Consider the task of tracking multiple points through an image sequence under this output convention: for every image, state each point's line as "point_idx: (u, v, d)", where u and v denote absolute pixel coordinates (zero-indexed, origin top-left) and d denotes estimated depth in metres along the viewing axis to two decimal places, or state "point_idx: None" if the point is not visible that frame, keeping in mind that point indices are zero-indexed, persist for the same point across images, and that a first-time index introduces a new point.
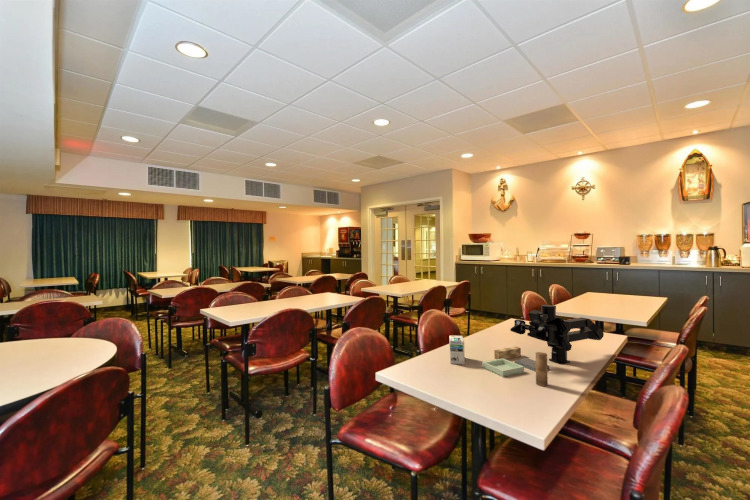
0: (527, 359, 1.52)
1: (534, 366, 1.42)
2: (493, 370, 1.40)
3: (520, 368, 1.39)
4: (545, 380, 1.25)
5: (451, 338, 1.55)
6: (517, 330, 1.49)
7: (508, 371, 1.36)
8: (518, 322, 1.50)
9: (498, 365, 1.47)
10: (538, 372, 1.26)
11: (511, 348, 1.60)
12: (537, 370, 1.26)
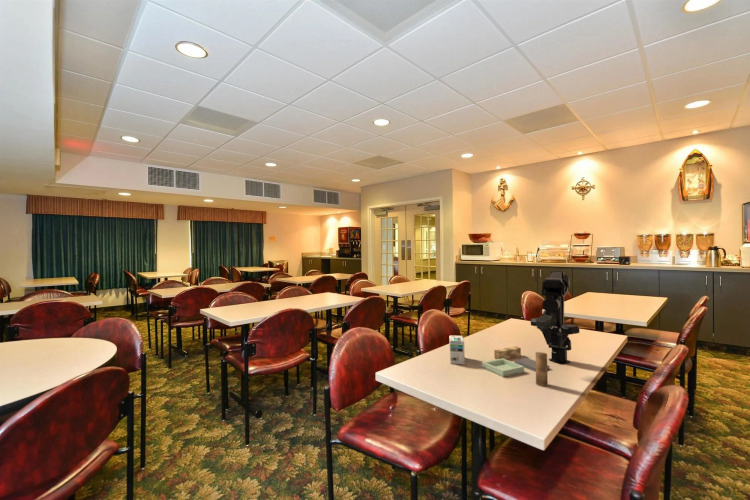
0: (527, 359, 1.52)
1: (534, 366, 1.42)
2: (493, 370, 1.40)
3: (520, 368, 1.39)
4: (545, 380, 1.25)
5: (451, 338, 1.55)
6: (549, 334, 1.39)
7: (508, 371, 1.36)
8: (541, 329, 1.39)
9: (498, 365, 1.47)
10: (538, 372, 1.26)
11: (511, 348, 1.60)
12: (537, 370, 1.26)
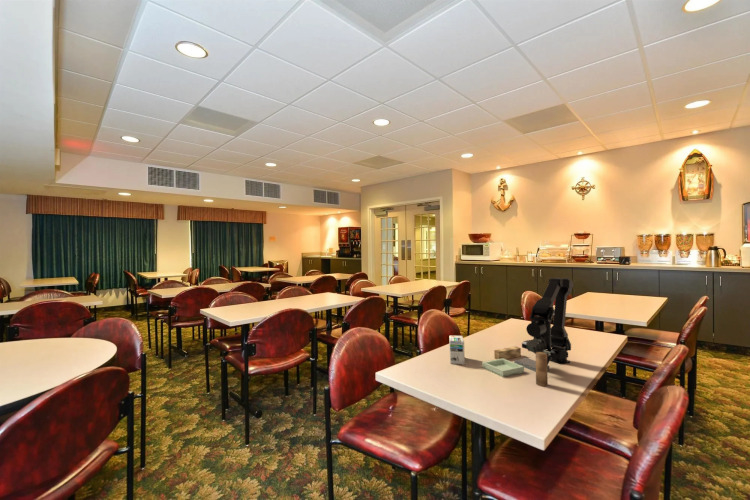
0: (526, 359, 1.52)
1: (534, 366, 1.42)
2: (493, 370, 1.40)
3: (520, 368, 1.39)
4: (545, 380, 1.25)
5: (451, 338, 1.55)
6: None
7: (508, 371, 1.36)
8: None
9: (498, 365, 1.47)
10: (538, 372, 1.26)
11: (511, 348, 1.60)
12: (537, 370, 1.26)
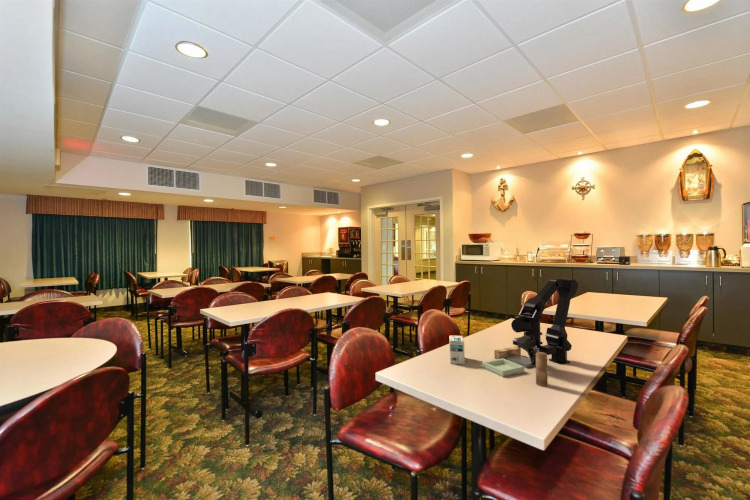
0: (517, 356, 1.57)
1: (524, 362, 1.47)
2: (493, 370, 1.40)
3: (520, 368, 1.39)
4: (545, 380, 1.25)
5: (451, 338, 1.55)
6: None
7: (508, 371, 1.36)
8: (526, 350, 1.46)
9: (498, 365, 1.47)
10: (538, 372, 1.26)
11: (511, 348, 1.60)
12: (537, 370, 1.26)
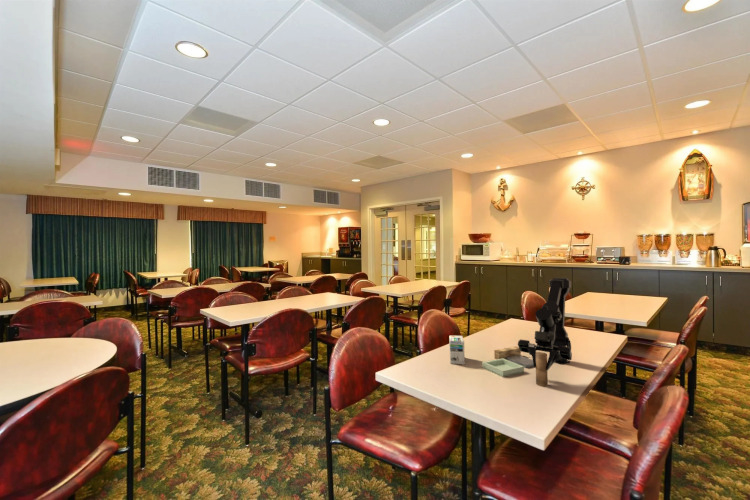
0: (517, 356, 1.57)
1: (524, 362, 1.47)
2: (493, 370, 1.40)
3: (520, 368, 1.39)
4: (545, 380, 1.25)
5: (451, 338, 1.55)
6: None
7: (508, 371, 1.36)
8: (532, 349, 1.30)
9: (498, 365, 1.47)
10: (538, 372, 1.26)
11: (511, 348, 1.60)
12: (537, 370, 1.26)
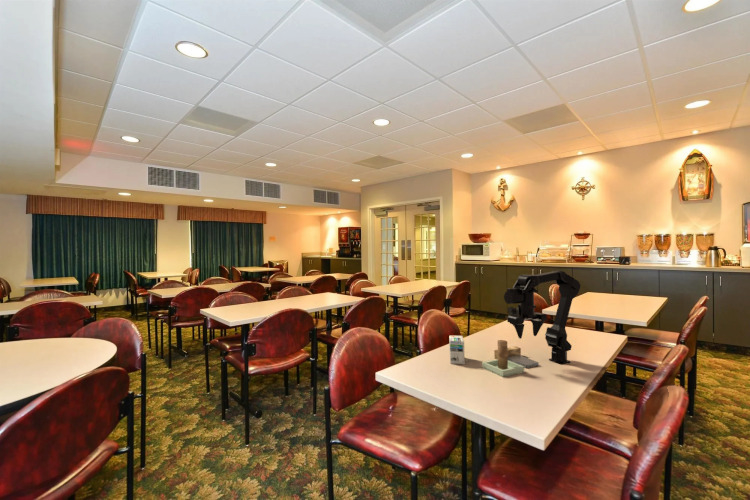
0: (517, 356, 1.57)
1: (523, 362, 1.47)
2: (493, 370, 1.40)
3: (520, 368, 1.39)
4: (503, 364, 1.41)
5: (451, 338, 1.55)
6: (536, 326, 1.49)
7: (508, 371, 1.36)
8: None
9: None
10: (498, 357, 1.43)
11: (511, 348, 1.60)
12: None
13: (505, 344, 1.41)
